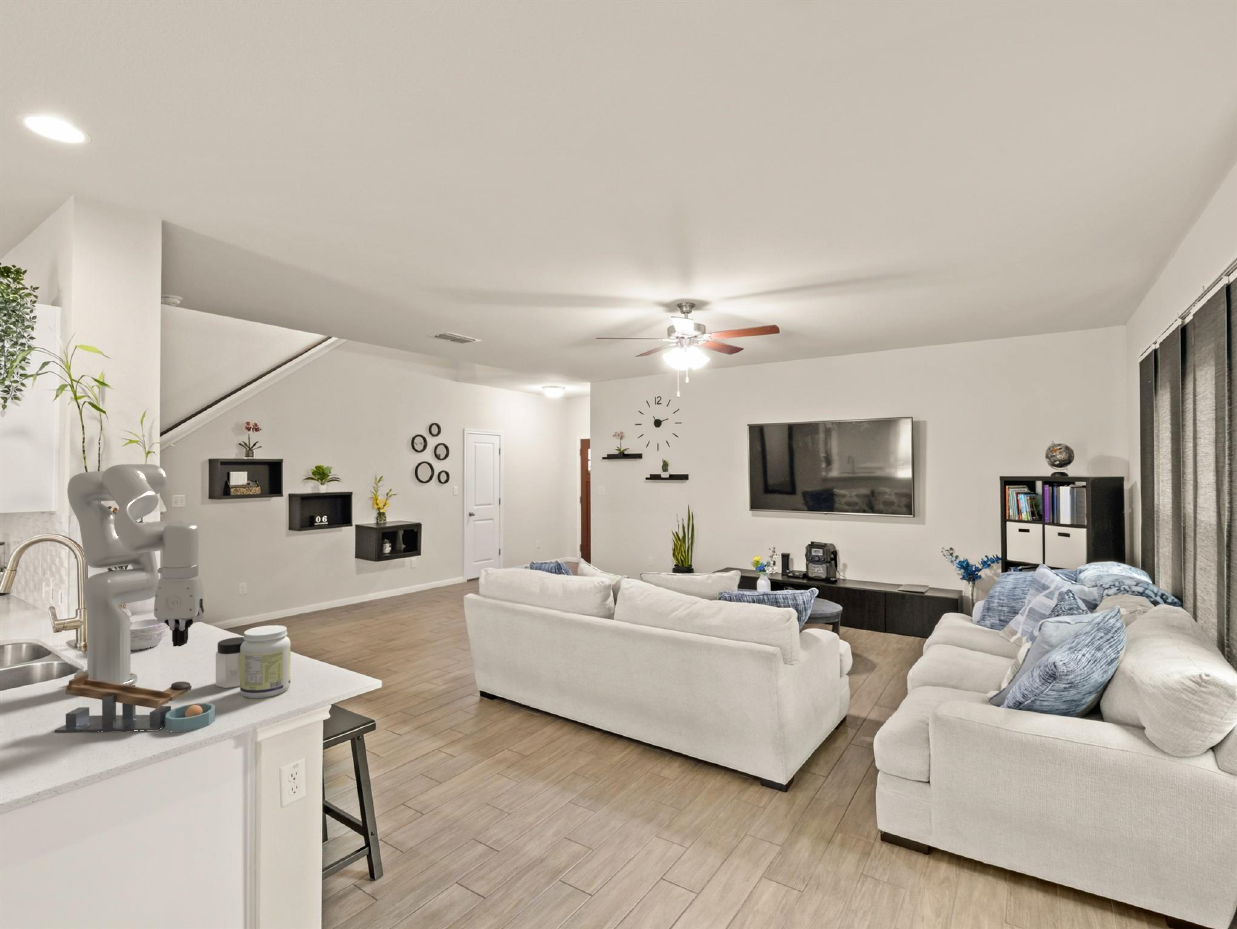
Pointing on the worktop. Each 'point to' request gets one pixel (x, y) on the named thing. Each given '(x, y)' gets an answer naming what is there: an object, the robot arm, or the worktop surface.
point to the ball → (193, 711)
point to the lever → (125, 692)
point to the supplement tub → (265, 662)
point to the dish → (189, 718)
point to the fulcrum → (113, 718)
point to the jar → (228, 662)
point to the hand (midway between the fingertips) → (180, 644)
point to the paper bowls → (146, 633)
